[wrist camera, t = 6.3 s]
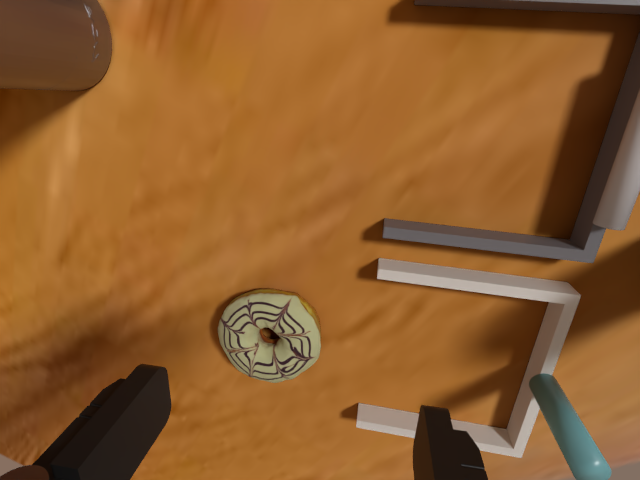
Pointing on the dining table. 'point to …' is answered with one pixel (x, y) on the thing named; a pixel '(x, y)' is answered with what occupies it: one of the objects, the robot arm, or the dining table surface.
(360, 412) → the white u-shaped bracket
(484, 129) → the dining table surface
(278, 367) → the decorated donut
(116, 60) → the dining table surface
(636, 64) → the grey u-shaped handle
